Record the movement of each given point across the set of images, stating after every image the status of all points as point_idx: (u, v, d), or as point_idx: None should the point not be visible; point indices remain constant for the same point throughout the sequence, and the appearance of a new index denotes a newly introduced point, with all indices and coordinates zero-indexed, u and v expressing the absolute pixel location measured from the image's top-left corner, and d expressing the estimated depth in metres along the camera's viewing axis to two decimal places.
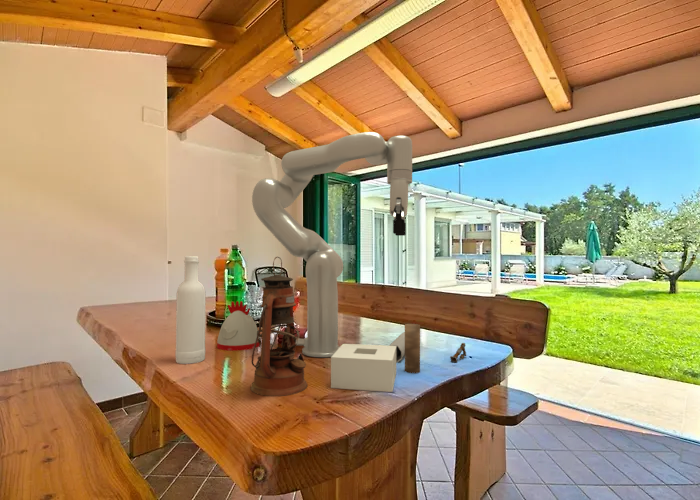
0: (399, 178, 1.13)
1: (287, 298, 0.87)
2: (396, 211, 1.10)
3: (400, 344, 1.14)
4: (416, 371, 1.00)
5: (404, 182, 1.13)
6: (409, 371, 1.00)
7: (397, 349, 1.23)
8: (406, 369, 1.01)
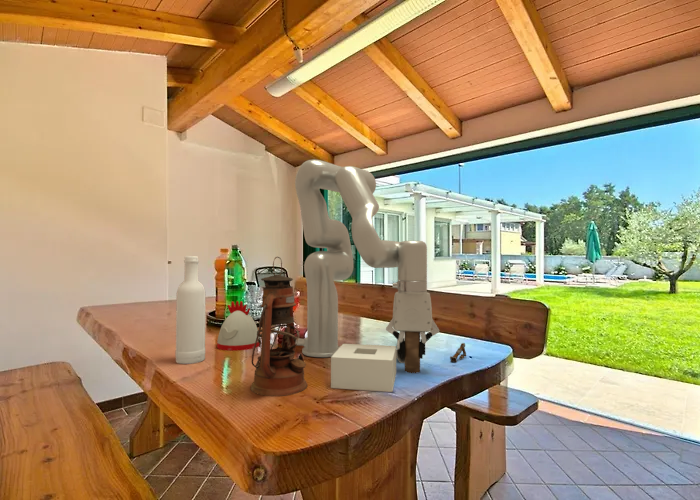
0: (426, 290, 1.02)
1: (287, 298, 0.87)
2: (432, 334, 1.00)
3: None
4: (416, 371, 1.00)
5: None
6: (409, 371, 1.00)
7: None
8: (406, 369, 1.01)
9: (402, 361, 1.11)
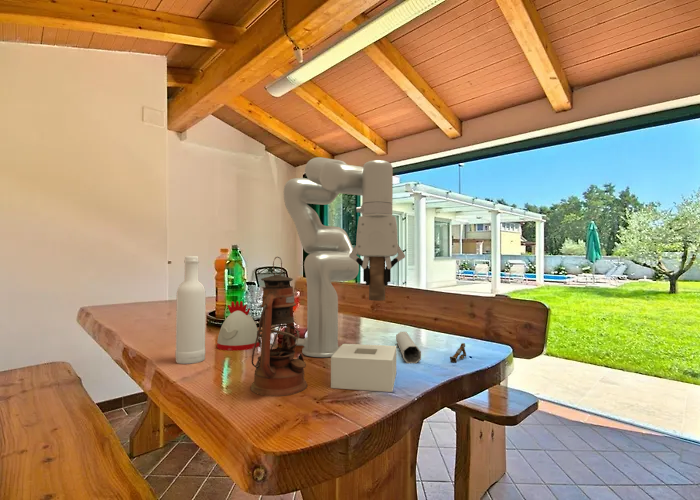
0: None
1: (287, 298, 0.87)
2: (397, 260, 0.95)
3: (414, 344, 1.13)
4: (381, 299, 0.94)
5: None
6: (373, 299, 0.94)
7: None
8: (370, 297, 0.95)
9: (408, 361, 1.10)
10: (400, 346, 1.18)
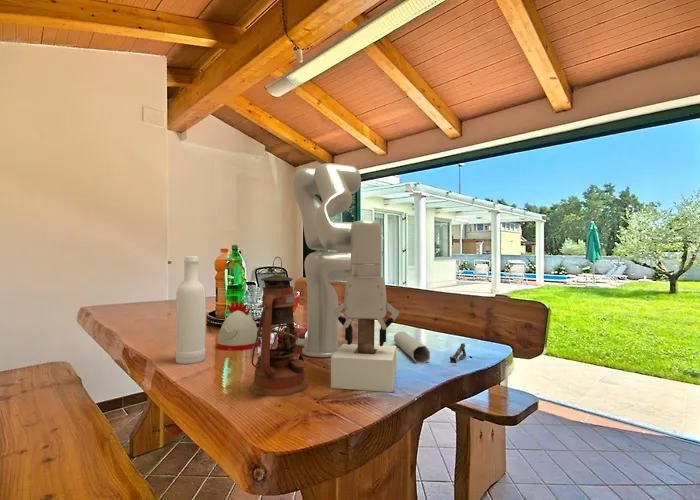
0: None
1: (287, 298, 0.87)
2: (393, 320, 0.92)
3: (421, 344, 1.13)
4: None
5: None
6: None
7: (404, 350, 1.22)
8: None
9: (417, 361, 1.10)
10: (404, 346, 1.18)
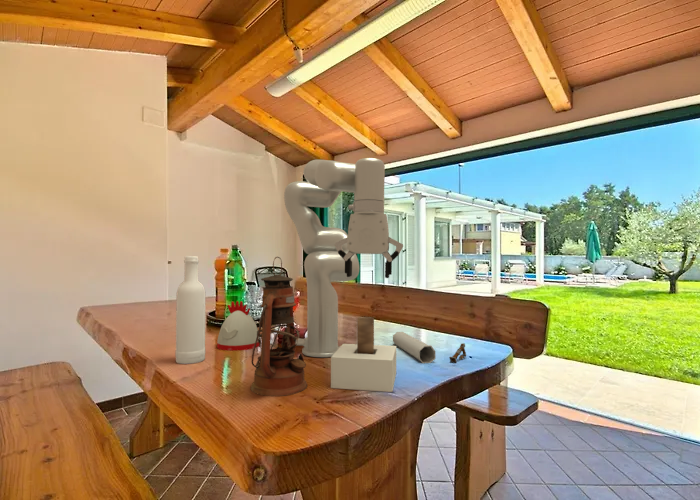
0: (383, 212, 0.96)
1: (287, 298, 0.87)
2: (398, 253, 0.95)
3: None
4: None
5: None
6: None
7: (405, 350, 1.22)
8: None
9: (422, 361, 1.11)
10: (407, 346, 1.18)
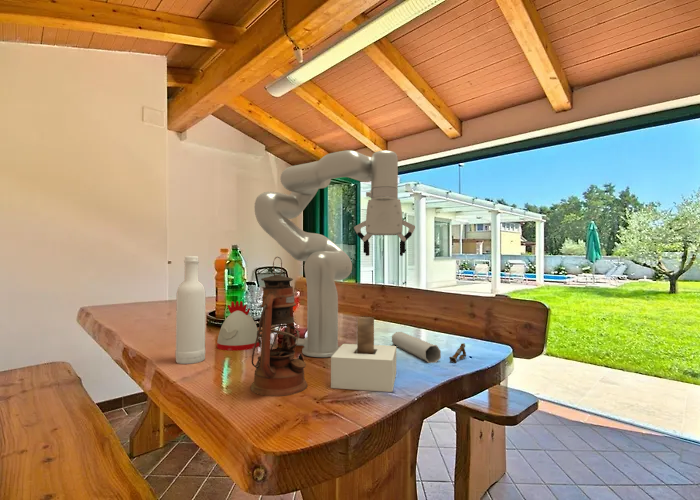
0: (397, 198, 1.09)
1: (287, 298, 0.87)
2: (411, 233, 1.08)
3: None
4: None
5: None
6: None
7: None
8: None
9: (428, 361, 1.11)
10: (410, 346, 1.18)
